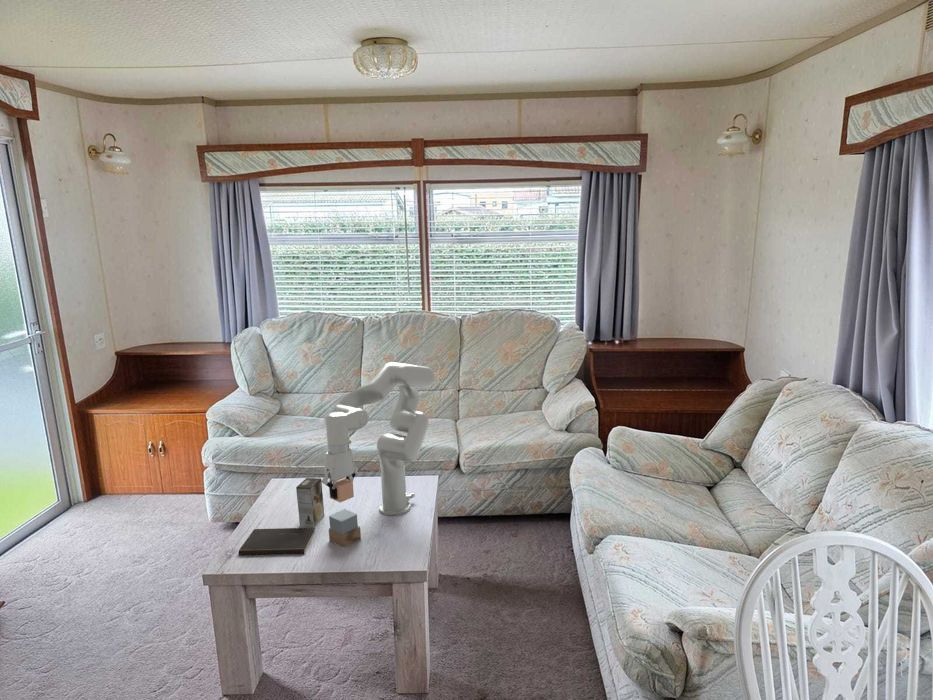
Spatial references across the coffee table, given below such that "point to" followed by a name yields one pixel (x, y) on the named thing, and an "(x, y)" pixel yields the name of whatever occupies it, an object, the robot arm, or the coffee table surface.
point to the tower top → (343, 521)
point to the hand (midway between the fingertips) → (341, 494)
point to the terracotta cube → (344, 490)
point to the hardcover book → (277, 541)
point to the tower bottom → (345, 537)
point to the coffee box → (310, 501)
